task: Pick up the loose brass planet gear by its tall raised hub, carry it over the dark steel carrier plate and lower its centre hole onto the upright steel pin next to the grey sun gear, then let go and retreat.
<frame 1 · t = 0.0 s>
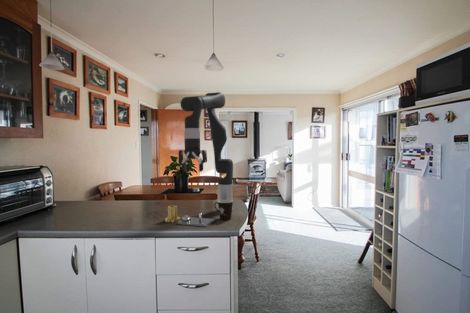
hand: (192, 171, 135), 29 cm above the worktop, tool pointing down, fingers open, 8 cm apart
carrier: (196, 222, 151), on the worktop
planet gear: (172, 220, 156), on the worktop
coffee mug: (224, 218, 160), on the worktop
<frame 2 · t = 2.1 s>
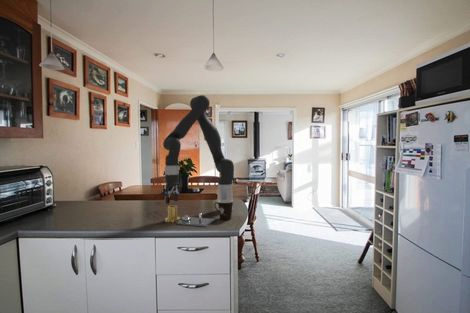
hand: (172, 202, 155), 10 cm above the worktop, tool pointing down, fingers open, 8 cm apart
nothing on the worktop moved.
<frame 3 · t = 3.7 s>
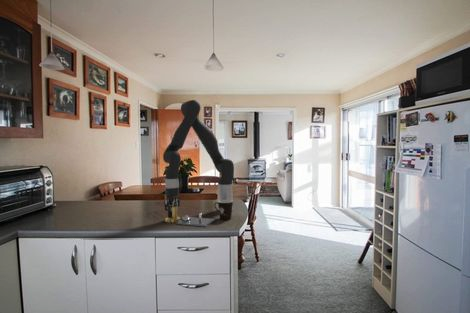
hand: (172, 216, 156), 2 cm above the worktop, tool pointing down, fingers closed on planet gear, 5 cm apart
planet gear: (172, 220, 156), on the worktop, touching gripper
everything else where it was.
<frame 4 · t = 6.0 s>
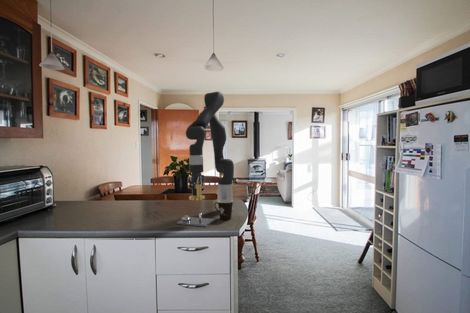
hand: (196, 194, 151), 15 cm above the worktop, tool pointing down, fingers closed on planet gear, 5 cm apart
planet gear: (196, 198, 151), point 13 cm above the worktop, touching gripper
everything else where it was.
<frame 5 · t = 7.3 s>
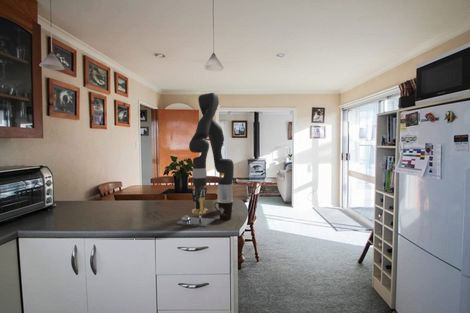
hand: (199, 207, 150), 8 cm above the worktop, tool pointing down, fingers closed on planet gear, 5 cm apart
planet gear: (199, 211, 150), point 6 cm above the worktop, touching gripper
everything else where it was.
when the fingers open (5 cm above the worktop, at t = 8.3 s): planet gear drops 2 cm, resting on carrier.
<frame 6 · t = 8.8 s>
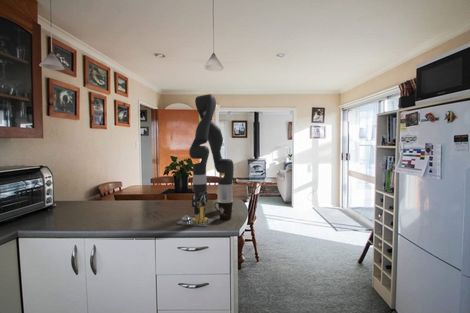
hand: (200, 212, 150), 6 cm above the worktop, tool pointing down, fingers open, 8 cm apart
planet gear: (200, 221, 150), point 1 cm above the worktop, touching carrier
everything else where it was.
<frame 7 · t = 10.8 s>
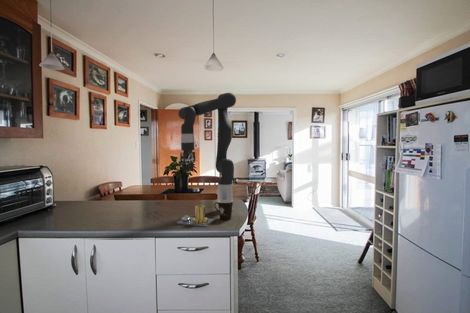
hand: (188, 170, 160), 28 cm above the worktop, tool pointing down, fingers open, 8 cm apart
nothing on the worktop moved.
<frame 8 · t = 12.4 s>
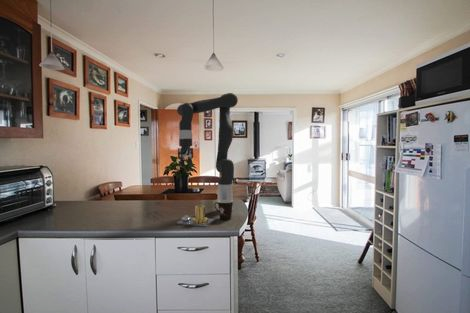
hand: (186, 165, 162), 30 cm above the worktop, tool pointing down, fingers open, 8 cm apart
nothing on the worktop moved.
at the end: planet gear 0.1 cm from the target spot, point 1.0 cm above the worktop; planet gear tilted 0°; the gripper is holding nothing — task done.
